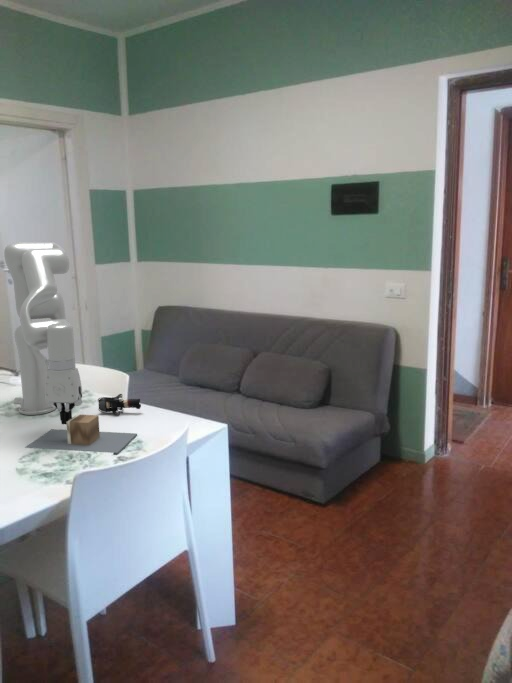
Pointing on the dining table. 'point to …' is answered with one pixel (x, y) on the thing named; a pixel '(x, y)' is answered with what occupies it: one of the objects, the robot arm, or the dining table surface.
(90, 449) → the slate mat
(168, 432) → the dining table surface
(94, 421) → the walnut cube
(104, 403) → the toy
